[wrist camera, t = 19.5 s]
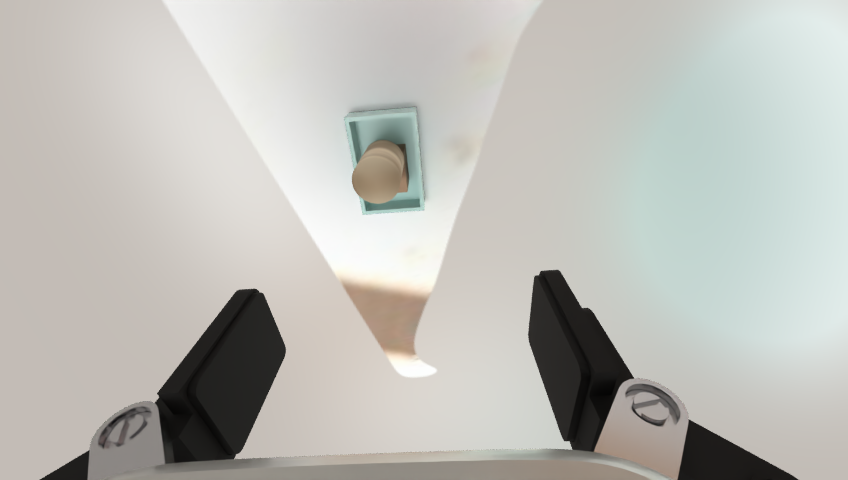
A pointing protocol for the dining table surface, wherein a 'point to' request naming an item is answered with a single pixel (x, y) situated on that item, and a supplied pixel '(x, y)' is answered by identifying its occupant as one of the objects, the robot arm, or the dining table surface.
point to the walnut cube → (404, 171)
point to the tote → (398, 130)
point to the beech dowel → (379, 172)
